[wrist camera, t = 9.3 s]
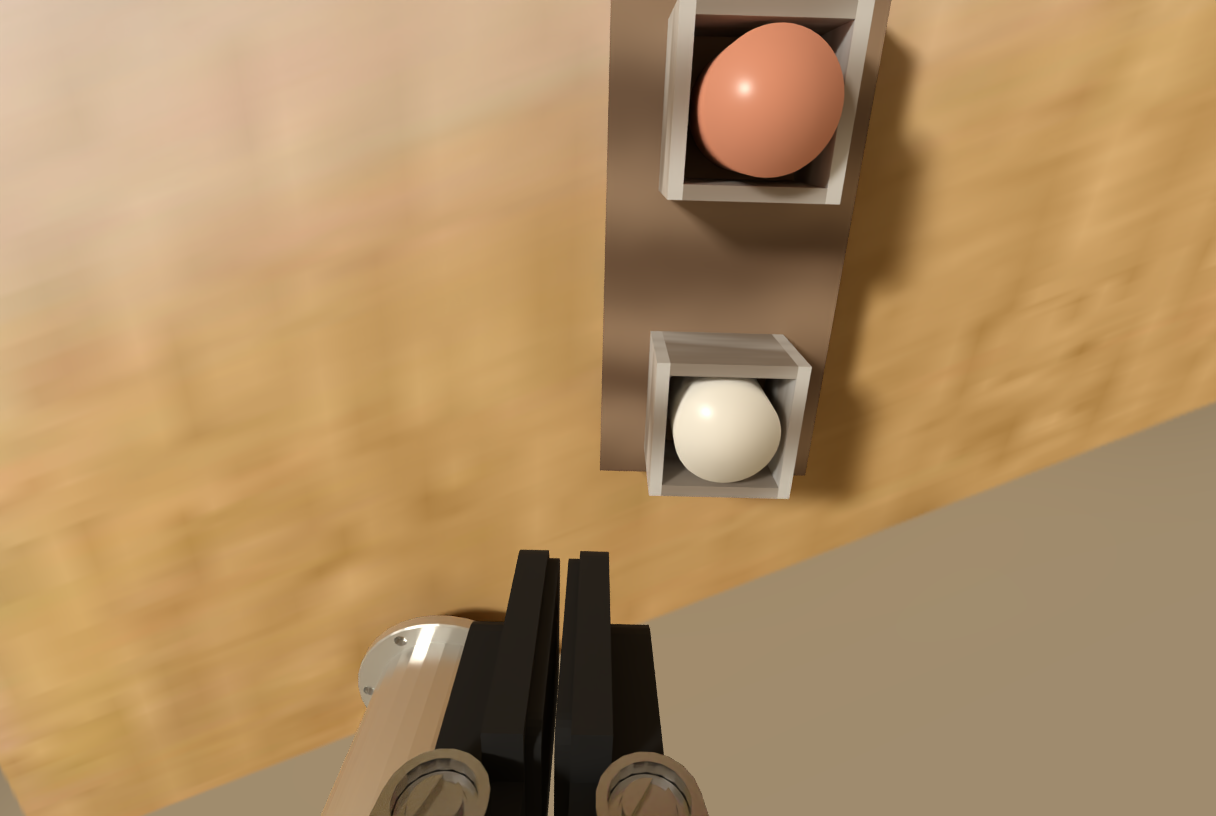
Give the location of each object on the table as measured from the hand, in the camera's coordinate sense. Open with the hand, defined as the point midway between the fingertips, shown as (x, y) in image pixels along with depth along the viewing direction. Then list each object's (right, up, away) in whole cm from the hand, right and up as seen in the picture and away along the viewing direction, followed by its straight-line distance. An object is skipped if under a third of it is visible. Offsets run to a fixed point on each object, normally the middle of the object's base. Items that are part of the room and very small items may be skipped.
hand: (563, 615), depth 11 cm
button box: (+7, +13, +23) cm, 27 cm away
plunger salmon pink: (+7, +17, +15) cm, 24 cm away
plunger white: (+6, +5, +22) cm, 23 cm away
